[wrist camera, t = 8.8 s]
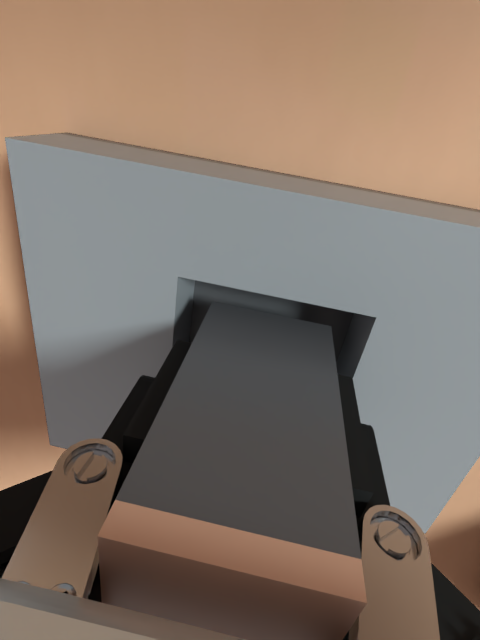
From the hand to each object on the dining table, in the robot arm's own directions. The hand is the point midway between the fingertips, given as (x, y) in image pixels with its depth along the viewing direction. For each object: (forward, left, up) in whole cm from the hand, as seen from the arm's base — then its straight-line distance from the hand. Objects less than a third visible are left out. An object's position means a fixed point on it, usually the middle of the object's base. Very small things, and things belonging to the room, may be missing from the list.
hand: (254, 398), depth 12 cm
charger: (0, 0, -2) cm, 2 cm away
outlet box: (0, 0, -4) cm, 4 cm away
